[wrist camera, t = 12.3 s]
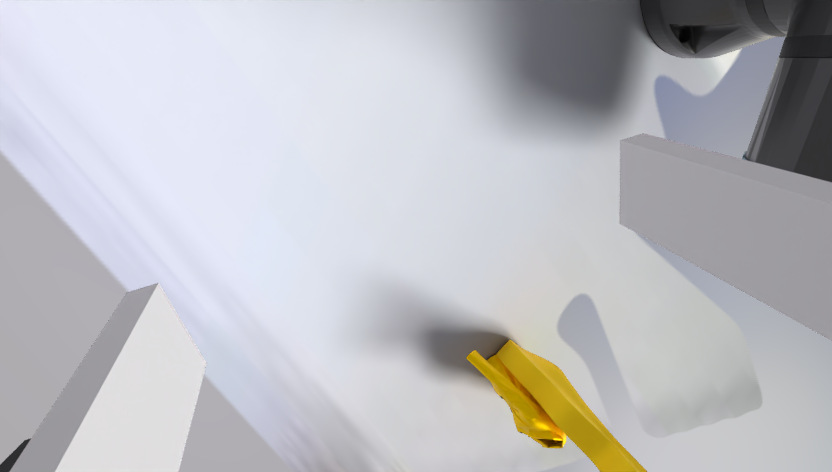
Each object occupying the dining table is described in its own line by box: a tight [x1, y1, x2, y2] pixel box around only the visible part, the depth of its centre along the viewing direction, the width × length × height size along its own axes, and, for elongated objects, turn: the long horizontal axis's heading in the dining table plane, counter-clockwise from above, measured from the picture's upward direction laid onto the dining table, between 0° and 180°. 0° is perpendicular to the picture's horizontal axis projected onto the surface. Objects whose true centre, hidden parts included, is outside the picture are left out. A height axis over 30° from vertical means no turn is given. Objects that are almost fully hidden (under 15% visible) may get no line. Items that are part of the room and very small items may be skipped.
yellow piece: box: [466, 340, 647, 472], centre depth 44 cm, size 18×8×22 cm, turn 44°
